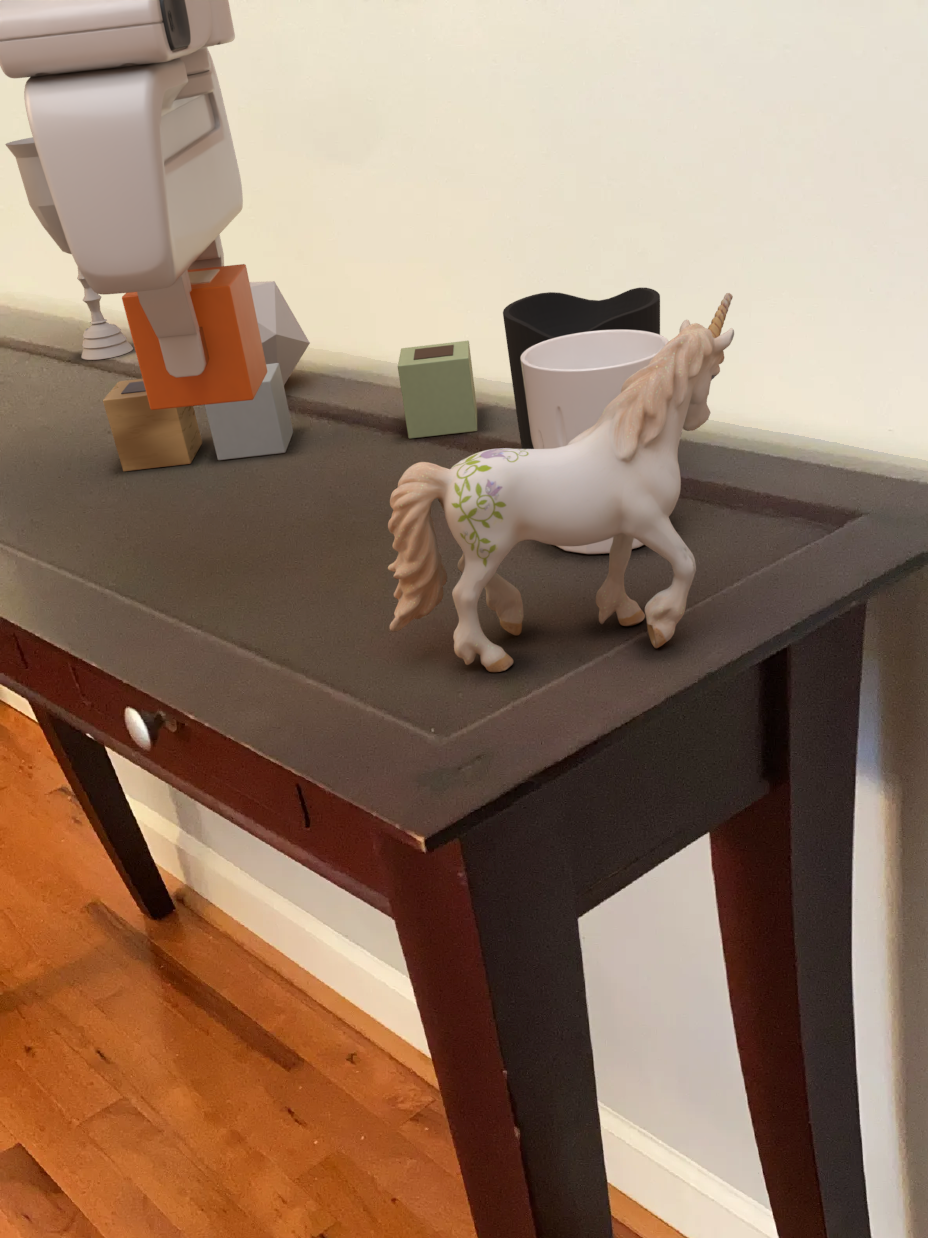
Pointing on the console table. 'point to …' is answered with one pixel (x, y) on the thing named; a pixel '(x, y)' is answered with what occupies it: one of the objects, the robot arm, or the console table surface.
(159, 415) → the line block
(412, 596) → the unicorn figurine
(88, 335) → the chalice
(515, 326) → the pen holder
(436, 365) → the line block
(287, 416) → the line block
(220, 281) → the orange block
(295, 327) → the die
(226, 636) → the console table surface
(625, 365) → the white cup
